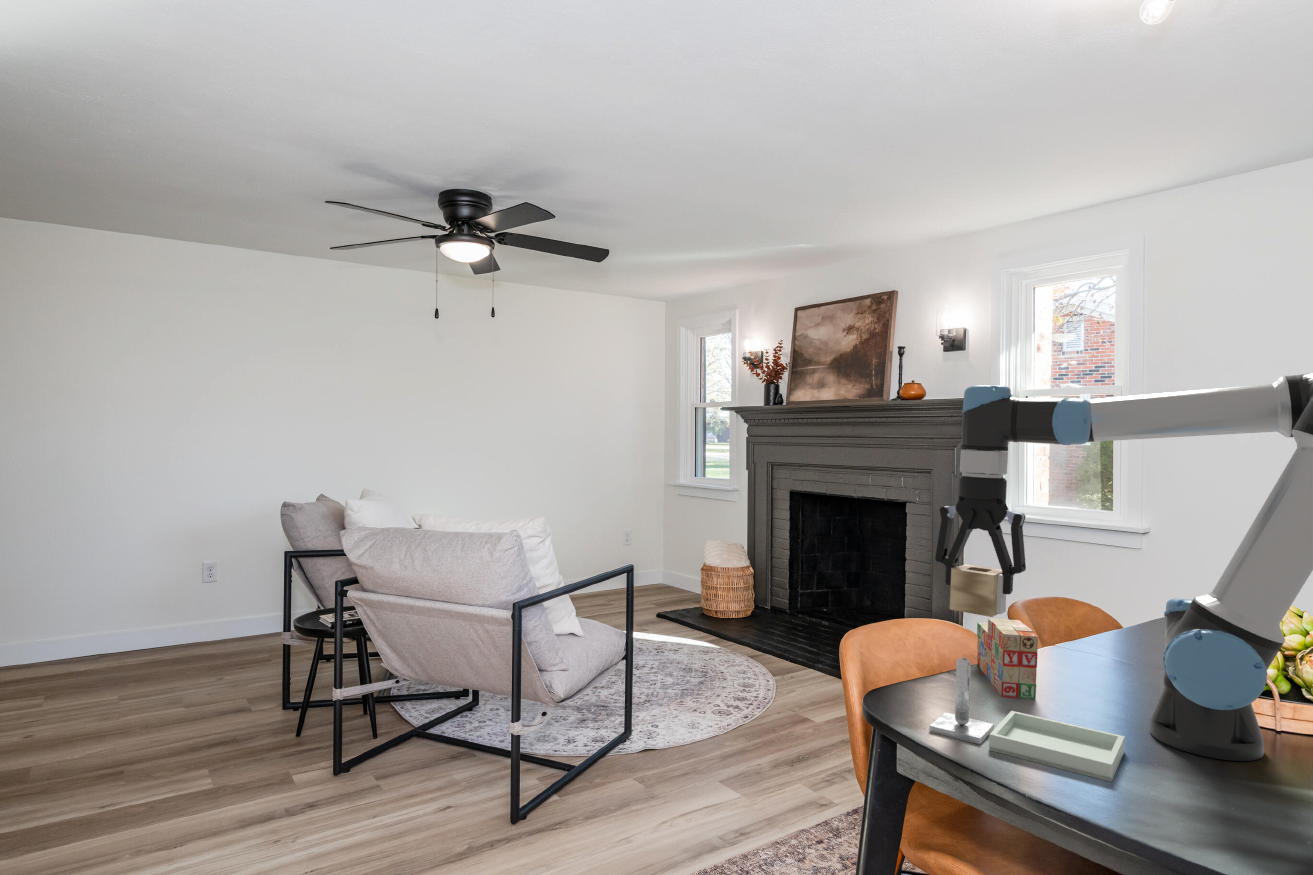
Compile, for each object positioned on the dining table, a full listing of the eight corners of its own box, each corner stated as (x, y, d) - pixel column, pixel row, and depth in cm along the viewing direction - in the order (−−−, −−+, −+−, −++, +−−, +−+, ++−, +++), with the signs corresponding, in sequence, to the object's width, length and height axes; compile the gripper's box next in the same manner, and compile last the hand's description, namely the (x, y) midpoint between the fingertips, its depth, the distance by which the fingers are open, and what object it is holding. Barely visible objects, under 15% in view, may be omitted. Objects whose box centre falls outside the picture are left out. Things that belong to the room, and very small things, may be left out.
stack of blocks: (976, 664, 166) (977, 607, 166) (1006, 666, 164) (1008, 609, 164) (1001, 697, 145) (1003, 632, 145) (1036, 700, 143) (1038, 635, 143)
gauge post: (993, 729, 128) (995, 657, 128) (980, 744, 122) (982, 668, 122) (944, 717, 133) (946, 648, 133) (929, 731, 127) (931, 658, 126)
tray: (1124, 752, 120) (1124, 736, 120) (1111, 781, 109) (1111, 764, 109) (1010, 725, 130) (1011, 710, 130) (989, 750, 120) (989, 734, 120)
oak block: (1004, 610, 132) (1006, 570, 132) (992, 617, 127) (993, 575, 127) (963, 603, 137) (965, 564, 137) (949, 609, 131) (951, 568, 131)
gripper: (1052, 479, 128) (1045, 615, 128) (933, 471, 141) (928, 595, 141) (1039, 480, 122) (1033, 623, 122) (917, 472, 135) (912, 601, 135)
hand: (977, 608), depth 132 cm, fingers closed on oak block, 7 cm apart
